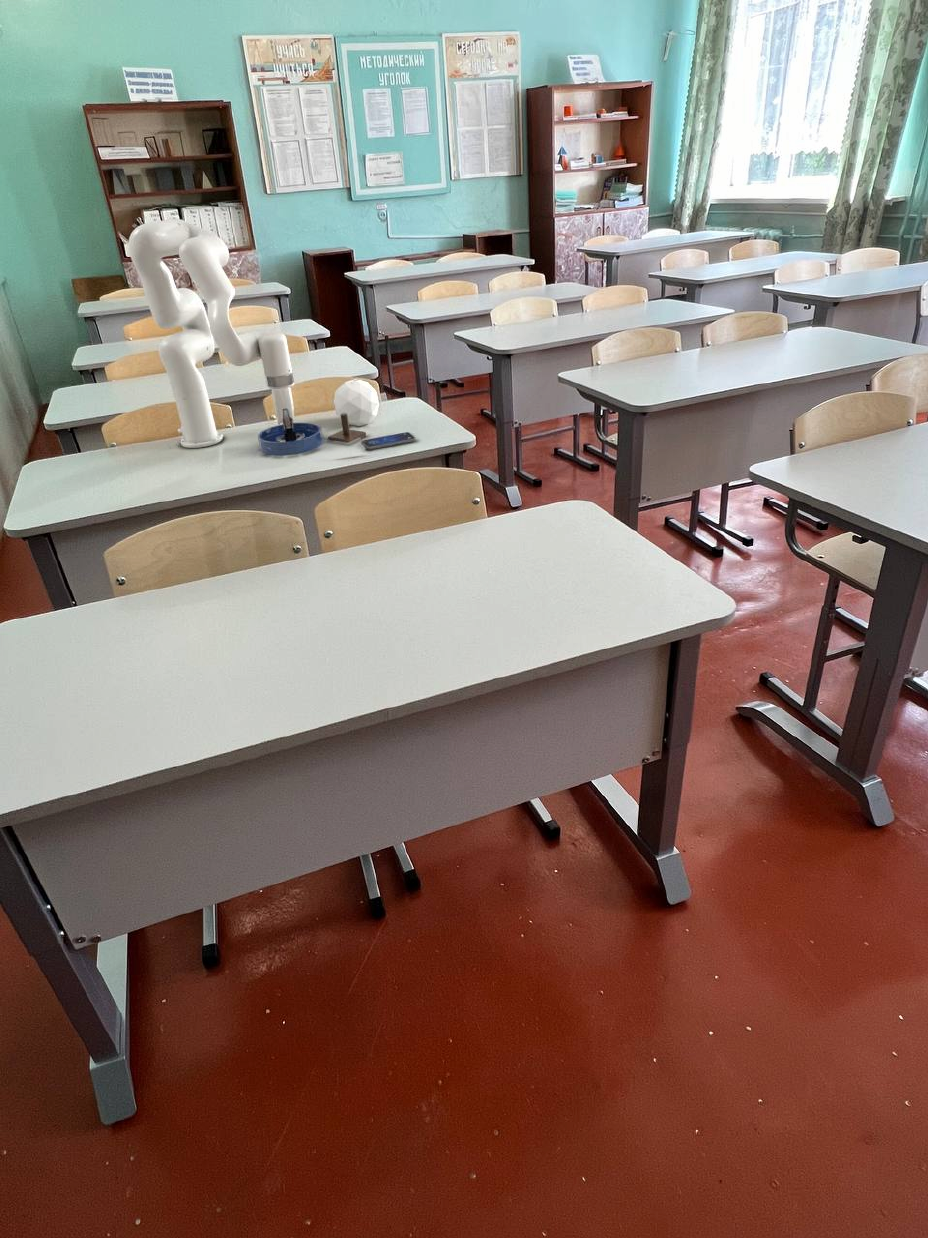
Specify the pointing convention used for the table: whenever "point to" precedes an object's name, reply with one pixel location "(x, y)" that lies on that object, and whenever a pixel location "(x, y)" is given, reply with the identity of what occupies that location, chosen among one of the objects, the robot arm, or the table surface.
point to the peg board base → (346, 432)
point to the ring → (282, 437)
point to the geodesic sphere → (356, 402)
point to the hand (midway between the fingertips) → (291, 443)
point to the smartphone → (388, 440)
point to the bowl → (291, 447)
